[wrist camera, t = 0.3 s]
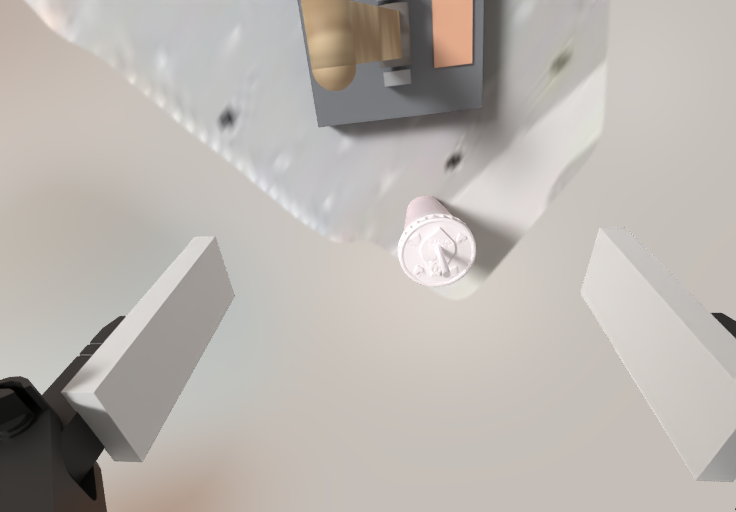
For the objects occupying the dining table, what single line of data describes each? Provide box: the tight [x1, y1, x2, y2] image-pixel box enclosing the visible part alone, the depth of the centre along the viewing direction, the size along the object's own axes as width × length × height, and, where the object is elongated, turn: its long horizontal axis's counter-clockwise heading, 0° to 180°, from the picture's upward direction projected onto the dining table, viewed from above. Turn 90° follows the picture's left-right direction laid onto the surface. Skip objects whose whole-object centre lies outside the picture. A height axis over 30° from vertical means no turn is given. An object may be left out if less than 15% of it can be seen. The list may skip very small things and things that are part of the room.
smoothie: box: [398, 196, 476, 287], centre depth 34 cm, size 6×6×14 cm
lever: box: [301, 0, 412, 91], centre depth 25 cm, size 5×2×13 cm, turn 7°
